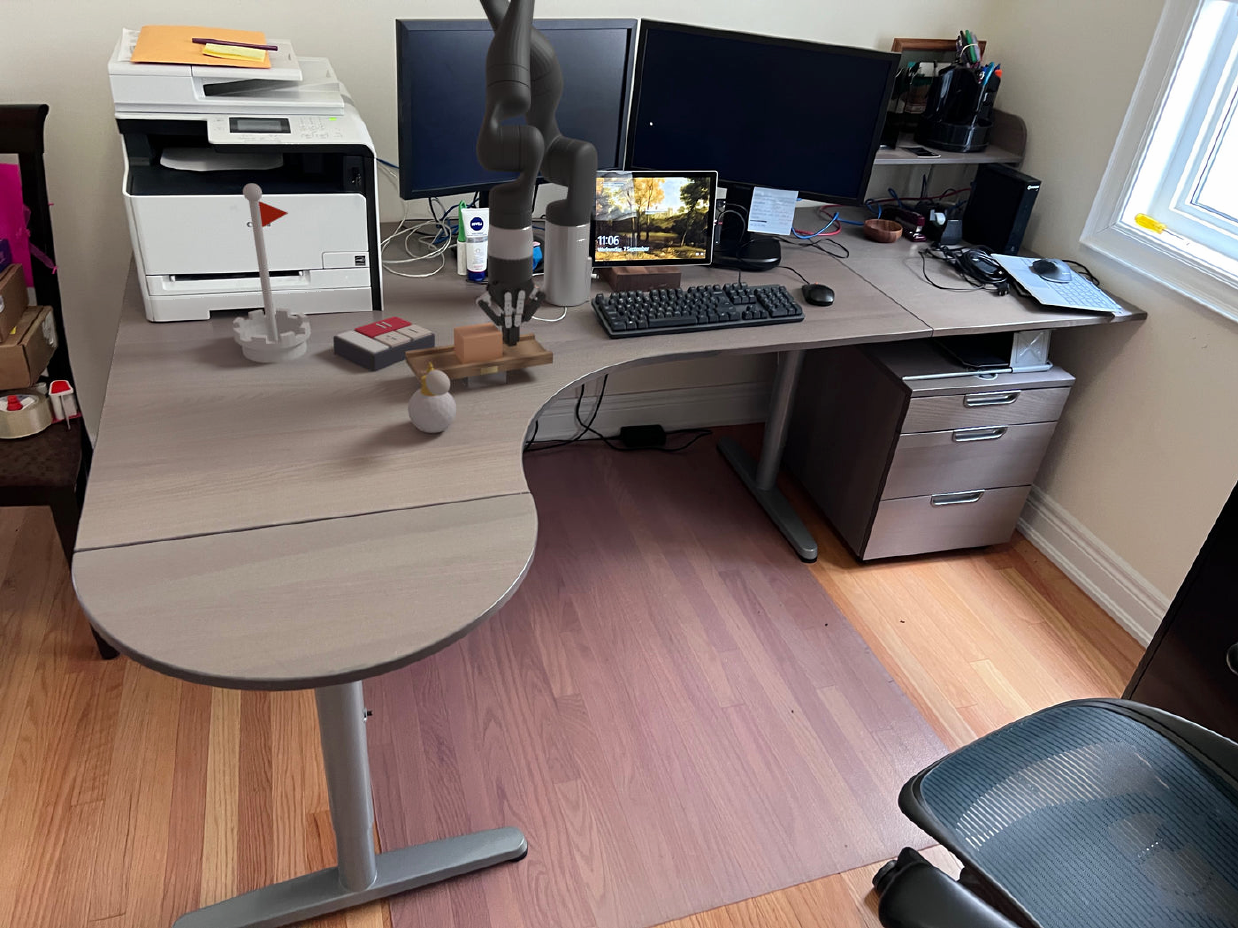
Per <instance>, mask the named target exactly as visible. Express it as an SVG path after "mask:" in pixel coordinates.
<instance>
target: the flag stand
mask: <svg viewBox="0 0 1238 928" xmlns="http://www.w3.org/2000/svg"><path fill="white" fill-rule="evenodd" d="M242 194H243V197H244V198H245V199H246V200H247V201H248V202H249V203H248V204H249V205H248V206H249V212H250V217H251V226H252V232H253V237H254V239H253V240H254V245H255V252H256V261H257V265H258V271H259V280H260V284H261V293H262V299H263V306H264V311H263V309H257V310H256V309H255V310H253V311H249V312H248V318H247V319H245V318H244V317H241V316H238V317H236V318H235V319H234V320H233V321H232V332H233V339H234V341H235V342H236V344H238V345H240V346H241V349H242V350H241V351H242V354H243V356H244V357H245V358H247V359H248V360H250V361H253V362H257V363H264V364H270V363H271V364H275V363H284V362H288V361H292V360H295V359H297V358H300V357H301V356H303V355H304V354H305V353H306V352H307V340H308V339H309V338H310V337H311V332H312V330H311V324H310V322H309V316H307V314H305V313H303V312H302V311H301V312H297V313H296V315H292V313H291V312H292V311H291V309H290V308H279V307H277V308H274V300H273V294H272V287H271V281H270V279H271V278H270V273H269V266H268V265H269V264H268V258H267V257H268V256H267V252H266V245H265V237H264V236H265V235H264V230H263V228H264V227H266V226H267V225H270V224H271V223H273V222H275V221H277V220H279V219H280V218H282V217H284V216H285V215H288V214H289V212H288V211H285V210H282V209H280V208H277V207H274V206H272V205H270V204H268V203H264V202H262V201H260V200H261V198H262V197H263V192H262V188H261V187H260V186H259V185H258V184H257V183H247V184H246V185H245V186H244V187H243V189H242ZM264 312H265V314H264Z"/></svg>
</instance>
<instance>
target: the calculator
mask: <svg viewBox="0 0 1238 928" xmlns="http://www.w3.org/2000/svg"><path fill="white" fill-rule="evenodd" d="M332 338H333V340H332V341H333V352H334V353H333V354H334V355H335V356H337V357H339V358H341V359H344V360H347V361H348V362H350V363H352V364H355V365H357V366H359V367H361V368H363V369H365V370H366V371H367V370H368V371H369V372H372V373H376V372H379V371H381V370H383V369H386V368H387V367H391V366H393V365H394V364H395V363H398V362H401V361H404V360H406V355H405V351H412V350H419V349H426V348H433V347H436V335H435V333H433V332H432V331H431V330H429V329H426V328H425V327H422V326H420V325H417V324H413V323H412V322H410V321H408V320H406V319H403V318H402V317H401V318H400V317H399V316H392V317H388V318H384V319H382V320H378V321H375V322H371V323H368V324H365V325H362V326H358V327H355V328H354V330H348V331H345V332H341V333H338V334H336V335H334V336H333V337H332Z"/></svg>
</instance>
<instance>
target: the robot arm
mask: <svg viewBox="0 0 1238 928" xmlns="http://www.w3.org/2000/svg"><path fill="white" fill-rule="evenodd" d="M535 2H536V0H510V1H509V0H479V3H480V5H481V7H482V10H483V11H484V14H485V16H486V18H487V20H488V22H489V24H490V26H491V29H492V31H493V34H494V35H493V37H492V40H491V42H490V44H489V47H488V50H487V53H486V56H485V58H486V59H485V68H484V69H485V108H484V115H483V118H482V123H481V126H480V130H479V134H478V136H477V142H476V149H475V150H476V158H477V160H478V162H479V164H480V166H481V167H482V168H483V169H484V170H486V171H488V172H495V173H497V172H499V173H500V172H501V173H503V172H505V173H507V172H508V173H520V174H519V175H518V177H517V178H516V179H514V180H513V181H511V182H510V181H509V182H506V183H502V184H498V185H494V186H493V187H492V188H491V189H490V190H489V193H488V231H487V269H488V270H487V275H488V282H487V284H486V287H485V292H483V293H482V294H481V295H480V296H475V297H474V302H475V304H476V305H477V306H478V307H479V308H480V310H482V311H483V312H484V313H485V314H486V316H487V317H488V318H489V319H490V320H491V322H492V323H493V324H494V325H495V326H496V327H500V326H501V333H502V340H503V341H504V343H505V344H506V345H507V346H508V347H510V346H516V345H517V342H519V340H520V335H521V334H520V332H521V331H520V330H521V328H520V327H521V324H522V323H525V322H526V323H528V322H530V321H531V319H532V318H533V316H534V315H535V313H537V311H538V310H539V308H540V306H541V305H542V303H544V301H545V302H547V303H549V304H551V305H555V306H561V307H572V306H573V307H574V306H579V305H581V304H584V303H585V302H589V301H590V297H591V285H592V284H591V283H592V265H593V264H592V263H593V259H592V257H591V256H590V255H589V250H590V246H589V245H590V233H591V232H590V230H591V216H592V215H591V214H592V211H593V207H594V204H595V193H596V186H597V185H596V184H597V175H598V165H599V162H598V153H597V150H596V147H595V146H594V144H593V143H590V142H588V141H584V140H581V139H580V140H579V139H575V138H570V137H566V136H563V134H562V133H561V131H560V130H559V126H558V123H557V120H556V111H557V109H558V106H559V103H560V101H561V98H562V94H563V92H564V82H565V81H564V76H563V72H562V69H561V66H560V62H559V58H558V56H557V53H556V50H555V48H554V45H553V44H552V43H551V41H550V40H549V39H548V38H547V37H546V35H545V34H543V33H542V32H541V31H540V30H539V29H538V28H537V27H536V26H534V24H533V21H534V13H535ZM520 116H523V117H524V120H525V123H526V124H501V123H502V122H503V121H506V120H508V119H513V118H514V119H515V118H517V117H520ZM539 173H540V175H541V176H542V178H543V179H544V180H545V181H547V182H549V183H550V184H553V185H558V186H561V187H565V188H567V193H566V194H567V195H566V198H563V199H558V200H554V201H551V202H549V203H548V204H547V205H546V208H545V222H544V223H545V224H544V225H545V229H544V255H543V256H544V259H543V262H544V263H543V265H544V266H543V287H542V288H543V290H542V289H540V288H539V287H538V288H537V287H535V286H536V284H535V282H534V279H533V276H534V273H533V272H534V249H535V244H534V232H533V199H534V198H533V197H534V191H535V185H536V181H537V177H538V174H539ZM491 299H492V300H493V302H494V303H495V304H496V305H497V306H498V307H497V309H498V312H499V315H497V314H496V312H495V311H494V310H493V309H492V308H491V306H492V301H491Z"/></svg>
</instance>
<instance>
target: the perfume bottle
mask: <svg viewBox="0 0 1238 928" xmlns="http://www.w3.org/2000/svg"><path fill="white" fill-rule="evenodd" d="M432 367H433V365H432V364H431V362H429V364H428V368H427V375H425V376H423V377H422V384H421V388H419V389H418V390H416V391H415V392H414V393H413V394H412V395H411V398H410V399H409V401H408V405H407V406H408V407H407V412H408V417H409V420H410V421H411V423H412V424H413V425H414V427H416V428H417V429H418V430H419V431H422V432H424V433H427V434H434V433H440V432H443V431H445V430H447V429H448V428H450V426H451V425H452V424H453V422H454V420H455V418H456V413H457V406H456V402H455V400H454V397H453V396H452V394H451V393H450V392H449V391H450V388H451V380H449V378H448V376H447V375H446V374H445V373H443V372H442V371H439V370H434V368H432Z"/></svg>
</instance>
